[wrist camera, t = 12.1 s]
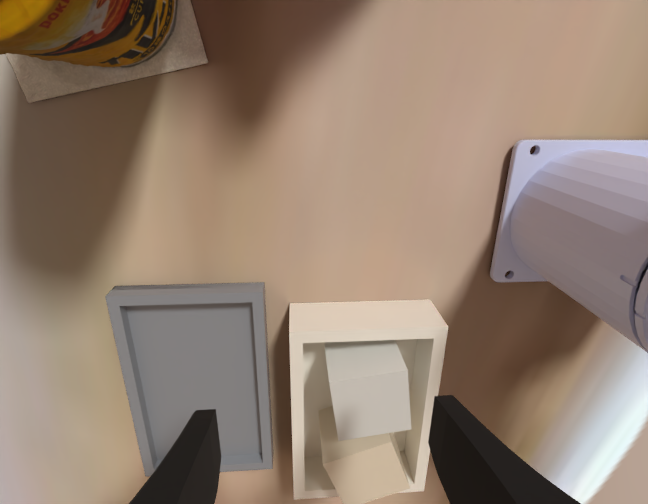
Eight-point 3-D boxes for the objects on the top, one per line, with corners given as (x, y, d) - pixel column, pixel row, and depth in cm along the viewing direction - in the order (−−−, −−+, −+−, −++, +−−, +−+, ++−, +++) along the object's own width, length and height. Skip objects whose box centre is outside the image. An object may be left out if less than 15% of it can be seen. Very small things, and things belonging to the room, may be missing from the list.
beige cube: (376, 390, 25) (391, 441, 21) (393, 433, 26) (410, 488, 23) (318, 410, 25) (322, 464, 22) (338, 451, 27) (345, 509, 23)
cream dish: (429, 299, 23) (448, 326, 21) (410, 452, 28) (424, 491, 25) (289, 303, 23) (289, 332, 20) (293, 458, 27) (293, 499, 25)
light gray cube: (389, 326, 23) (407, 370, 20) (393, 379, 25) (411, 429, 21) (323, 336, 23) (329, 382, 19) (331, 389, 25) (338, 441, 21)
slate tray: (264, 282, 22) (262, 292, 21) (273, 453, 27) (272, 468, 26) (115, 286, 22) (105, 296, 20) (151, 460, 26) (145, 476, 25)
